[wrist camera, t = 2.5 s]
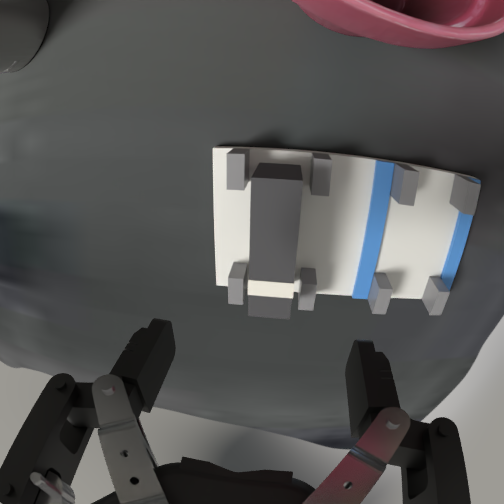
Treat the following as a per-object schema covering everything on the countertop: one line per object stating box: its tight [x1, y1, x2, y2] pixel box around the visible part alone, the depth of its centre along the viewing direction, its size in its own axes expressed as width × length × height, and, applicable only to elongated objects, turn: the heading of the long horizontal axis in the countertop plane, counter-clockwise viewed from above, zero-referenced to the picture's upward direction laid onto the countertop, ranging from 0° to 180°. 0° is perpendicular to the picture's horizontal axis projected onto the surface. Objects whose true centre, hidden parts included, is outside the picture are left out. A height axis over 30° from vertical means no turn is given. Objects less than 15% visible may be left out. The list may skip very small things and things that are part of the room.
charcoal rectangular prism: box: [248, 163, 303, 319], centre depth 22 cm, size 10×3×5 cm, turn 179°
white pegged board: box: [213, 146, 481, 315], centre depth 23 cm, size 12×22×4 cm, turn 89°
